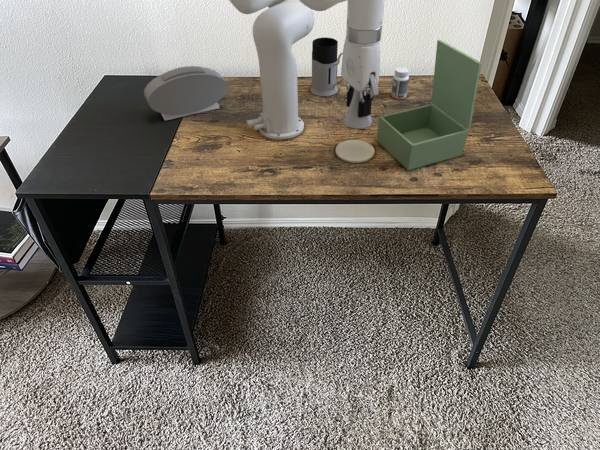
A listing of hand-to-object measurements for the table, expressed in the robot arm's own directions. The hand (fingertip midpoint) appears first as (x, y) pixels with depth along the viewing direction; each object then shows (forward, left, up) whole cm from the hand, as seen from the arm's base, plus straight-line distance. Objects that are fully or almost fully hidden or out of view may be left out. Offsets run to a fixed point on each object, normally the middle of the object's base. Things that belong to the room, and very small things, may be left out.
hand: (358, 110), depth 109 cm
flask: (0, 0, -4) cm, 4 cm away
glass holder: (+9, +33, -12) cm, 36 cm away
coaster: (0, 0, -12) cm, 12 cm away
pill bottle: (+27, +22, -12) cm, 37 cm away
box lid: (+23, -5, +4) cm, 24 cm away
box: (+16, -5, -12) cm, 21 cm away
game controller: (+7, +15, -12) cm, 21 cm away
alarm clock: (-34, +40, -12) cm, 54 cm away
